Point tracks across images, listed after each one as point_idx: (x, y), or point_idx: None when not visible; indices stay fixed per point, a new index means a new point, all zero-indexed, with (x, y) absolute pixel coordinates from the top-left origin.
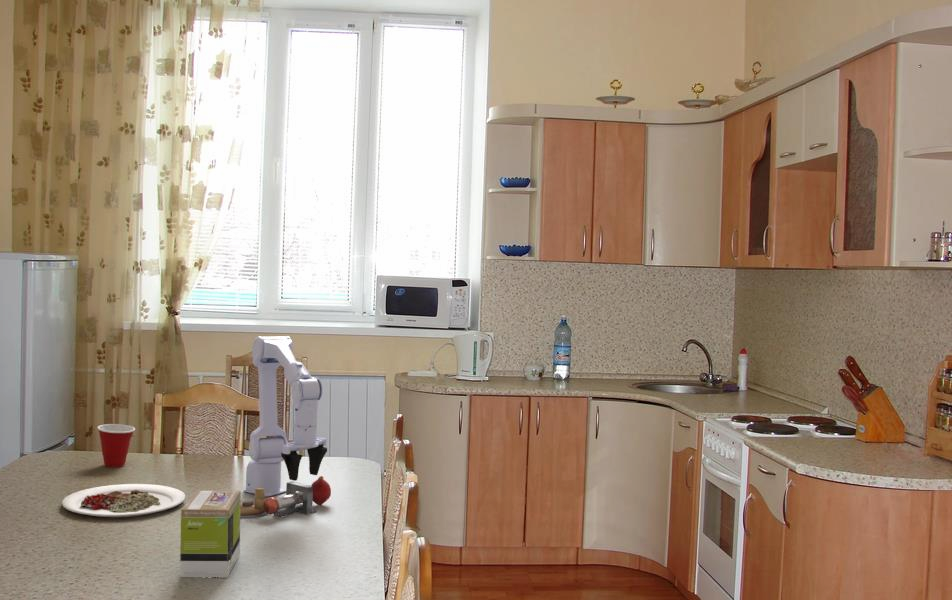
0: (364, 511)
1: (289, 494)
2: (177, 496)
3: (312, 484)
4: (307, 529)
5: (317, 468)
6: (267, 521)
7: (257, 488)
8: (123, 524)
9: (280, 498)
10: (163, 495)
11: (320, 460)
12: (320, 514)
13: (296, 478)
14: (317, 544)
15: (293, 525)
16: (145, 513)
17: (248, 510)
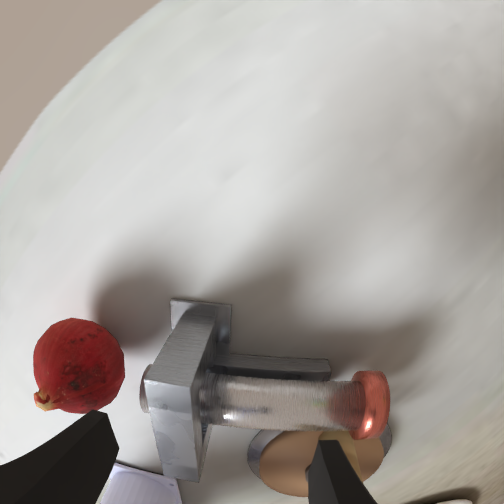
0: (49, 152)
1: (207, 434)
2: None
3: (91, 408)
4: (398, 167)
5: (77, 440)
6: (388, 358)
7: None
8: (483, 481)
9: (325, 416)
10: None
11: (24, 470)
12: (183, 263)
13: (332, 449)
14: (483, 49)
15: (386, 251)
16: (452, 500)
17: (375, 438)
